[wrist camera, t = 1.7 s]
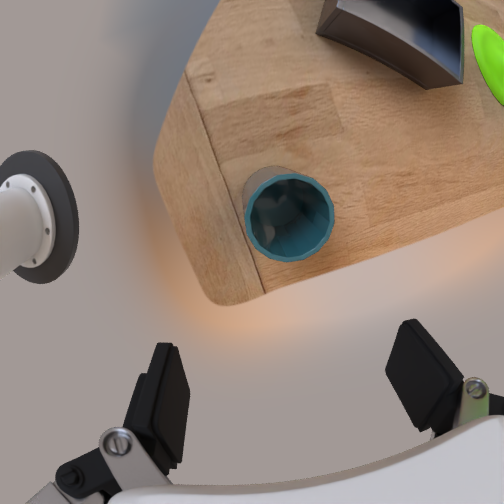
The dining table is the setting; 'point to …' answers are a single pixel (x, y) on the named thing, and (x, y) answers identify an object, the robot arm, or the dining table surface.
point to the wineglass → (490, 58)
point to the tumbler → (286, 213)
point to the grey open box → (402, 36)
